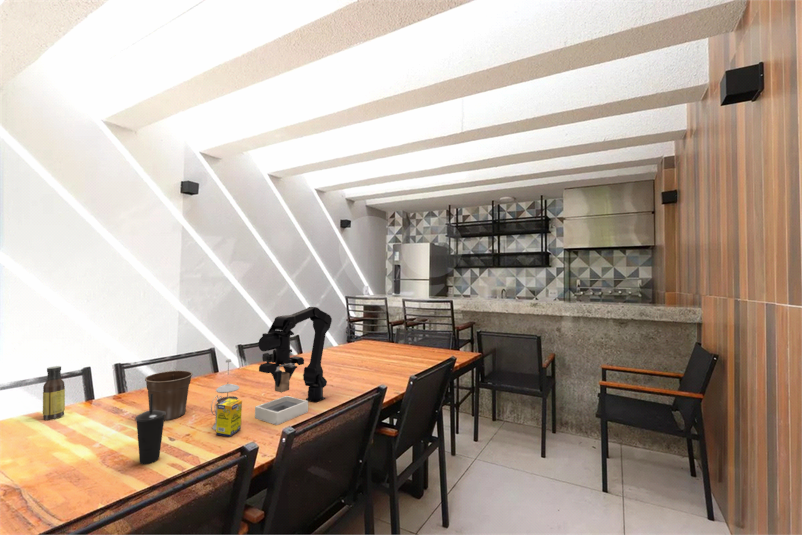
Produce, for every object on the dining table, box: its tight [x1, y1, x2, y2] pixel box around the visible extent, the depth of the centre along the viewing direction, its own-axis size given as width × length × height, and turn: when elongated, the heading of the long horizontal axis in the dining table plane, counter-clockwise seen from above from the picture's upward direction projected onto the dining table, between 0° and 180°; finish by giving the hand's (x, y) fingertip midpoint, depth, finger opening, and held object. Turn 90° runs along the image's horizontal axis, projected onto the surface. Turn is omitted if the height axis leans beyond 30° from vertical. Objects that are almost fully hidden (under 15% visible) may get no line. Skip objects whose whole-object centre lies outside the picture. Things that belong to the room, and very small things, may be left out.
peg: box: [274, 371, 290, 393], centre depth 145 cm, size 4×4×7 cm
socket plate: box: [266, 401, 297, 412], centre depth 144 cm, size 14×11×2 cm
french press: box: [210, 358, 240, 431], centre depth 133 cm, size 10×12×25 cm
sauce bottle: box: [42, 365, 66, 421], centre depth 140 cm, size 6×6×20 cm
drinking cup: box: [134, 394, 166, 465], centre depth 108 cm, size 8×8×20 cm
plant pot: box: [144, 370, 193, 422], centre depth 143 cm, size 16×16×16 cm
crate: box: [254, 395, 309, 426], centre depth 144 cm, size 16×13×4 cm
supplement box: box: [215, 398, 243, 438], centre depth 127 cm, size 6×6×11 cm
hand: (282, 385), depth 145 cm, fingers closed on peg, 4 cm apart
